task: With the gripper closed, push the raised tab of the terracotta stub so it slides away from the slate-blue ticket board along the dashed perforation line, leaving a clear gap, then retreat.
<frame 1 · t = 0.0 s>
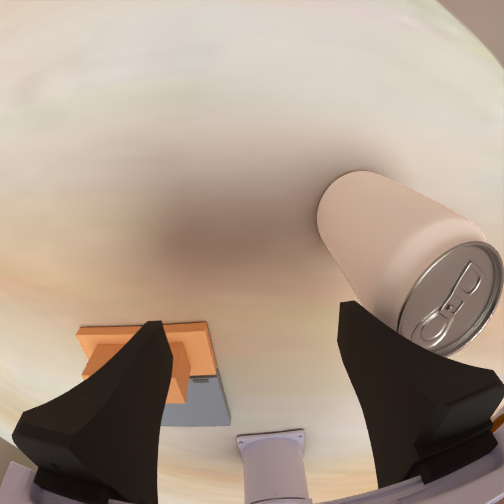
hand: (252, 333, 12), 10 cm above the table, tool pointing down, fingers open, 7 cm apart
can: (357, 213, 21), on the table
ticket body: (166, 396, 28), on the table
stub: (138, 368, 22), point 3 cm above the table, slide at 0.0 cm
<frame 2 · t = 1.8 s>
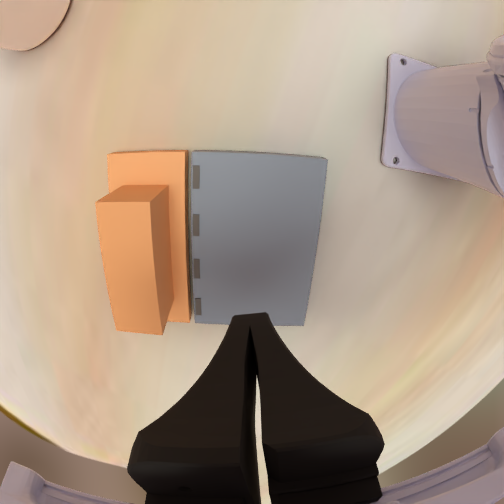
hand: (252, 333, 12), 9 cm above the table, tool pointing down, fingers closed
can: (40, 14, 13), on the table
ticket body: (254, 242, 21), on the table
stub: (142, 254, 18), point 3 cm above the table, slide at 0.0 cm
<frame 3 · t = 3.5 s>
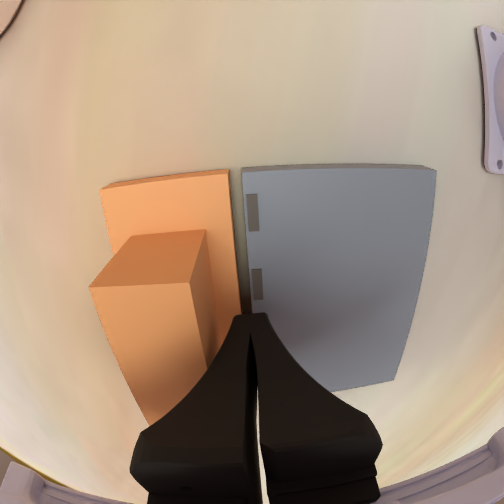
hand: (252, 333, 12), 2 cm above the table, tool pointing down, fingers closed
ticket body: (335, 292, 14), on the table
stub: (178, 339, 12), point 3 cm above the table, slide at 0.1 cm, touching gripper
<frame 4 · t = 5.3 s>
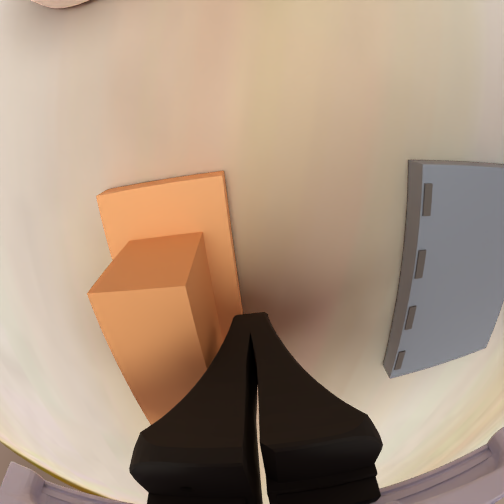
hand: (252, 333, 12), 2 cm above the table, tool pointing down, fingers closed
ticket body: (457, 270, 14), on the table
stub: (179, 342, 12), point 3 cm above the table, slide at 7.5 cm, touching gripper
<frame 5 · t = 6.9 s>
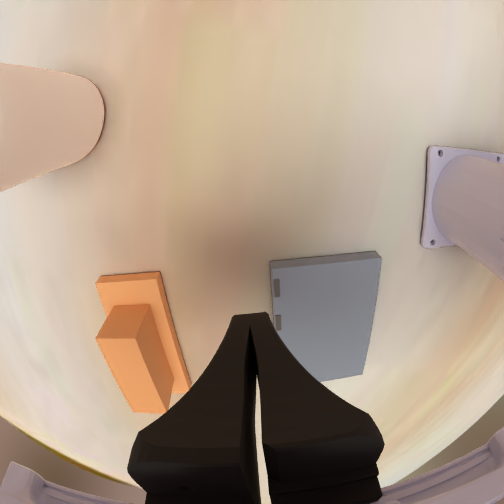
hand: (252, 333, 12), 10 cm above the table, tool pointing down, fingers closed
can: (69, 119, 17), on the table
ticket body: (322, 322, 24), on the table
stub: (141, 357, 21), point 3 cm above the table, slide at 7.5 cm
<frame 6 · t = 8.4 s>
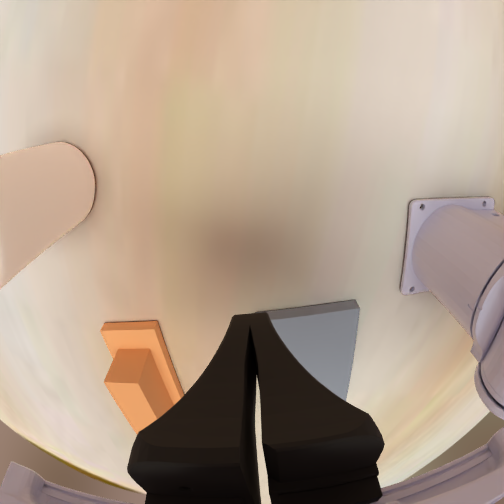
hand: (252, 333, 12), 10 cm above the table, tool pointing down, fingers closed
can: (62, 184, 19), on the table
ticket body: (306, 360, 26), on the table
stub: (144, 392, 23), point 3 cm above the table, slide at 7.5 cm
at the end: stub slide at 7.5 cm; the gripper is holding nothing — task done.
